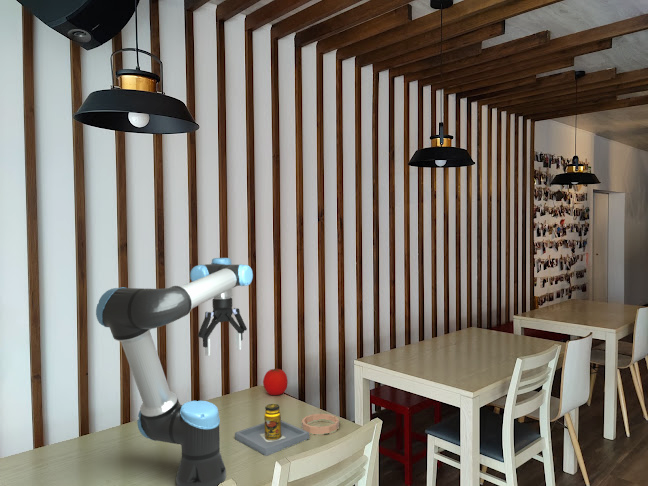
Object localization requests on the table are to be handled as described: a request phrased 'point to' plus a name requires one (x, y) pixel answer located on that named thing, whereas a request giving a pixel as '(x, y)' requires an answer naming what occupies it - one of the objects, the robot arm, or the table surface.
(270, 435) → the condiment
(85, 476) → the table surface
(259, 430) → the tray
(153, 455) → the table surface
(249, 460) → the table surface
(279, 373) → the tomato
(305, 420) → the ring holder
